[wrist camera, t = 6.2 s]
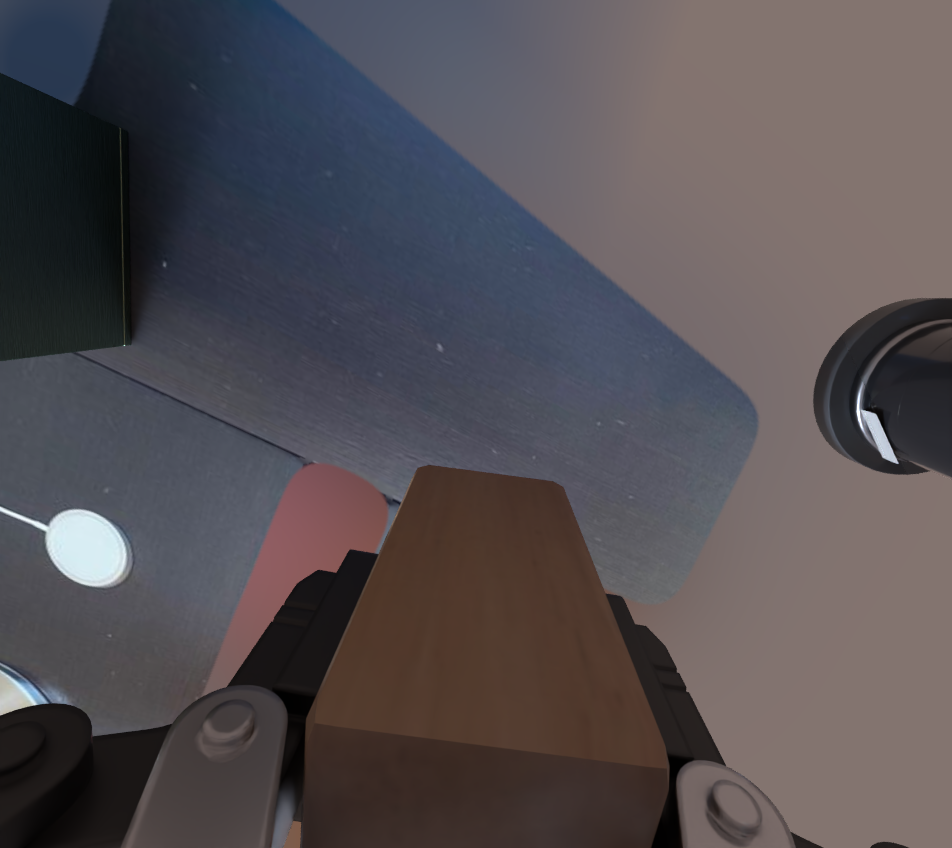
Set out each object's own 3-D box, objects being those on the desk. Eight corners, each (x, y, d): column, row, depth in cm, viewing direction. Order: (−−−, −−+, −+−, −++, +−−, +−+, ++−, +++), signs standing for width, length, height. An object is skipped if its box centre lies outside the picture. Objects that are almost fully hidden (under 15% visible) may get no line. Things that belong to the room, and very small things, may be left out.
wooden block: (541, 607, 13) (611, 1027, 6) (402, 589, 13) (283, 987, 6) (566, 477, 12) (693, 774, 5) (416, 458, 12) (291, 721, 5)
